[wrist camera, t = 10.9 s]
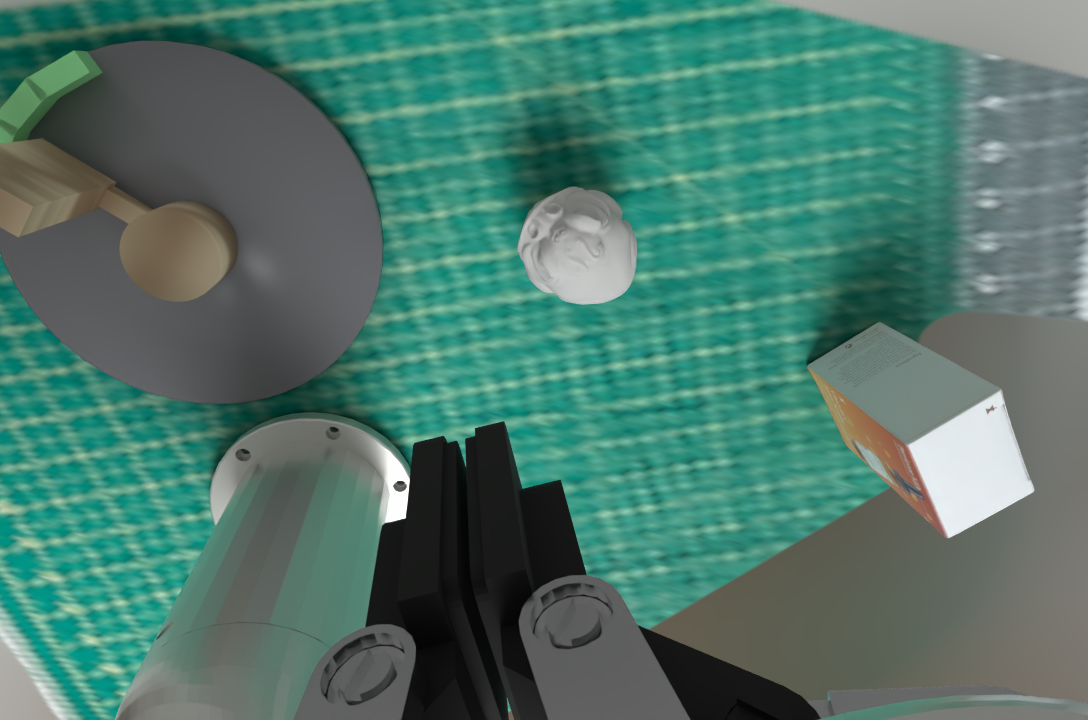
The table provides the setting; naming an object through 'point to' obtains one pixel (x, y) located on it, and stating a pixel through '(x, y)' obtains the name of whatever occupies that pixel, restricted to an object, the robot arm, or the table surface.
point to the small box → (924, 427)
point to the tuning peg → (151, 235)
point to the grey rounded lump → (578, 246)
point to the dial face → (219, 182)
